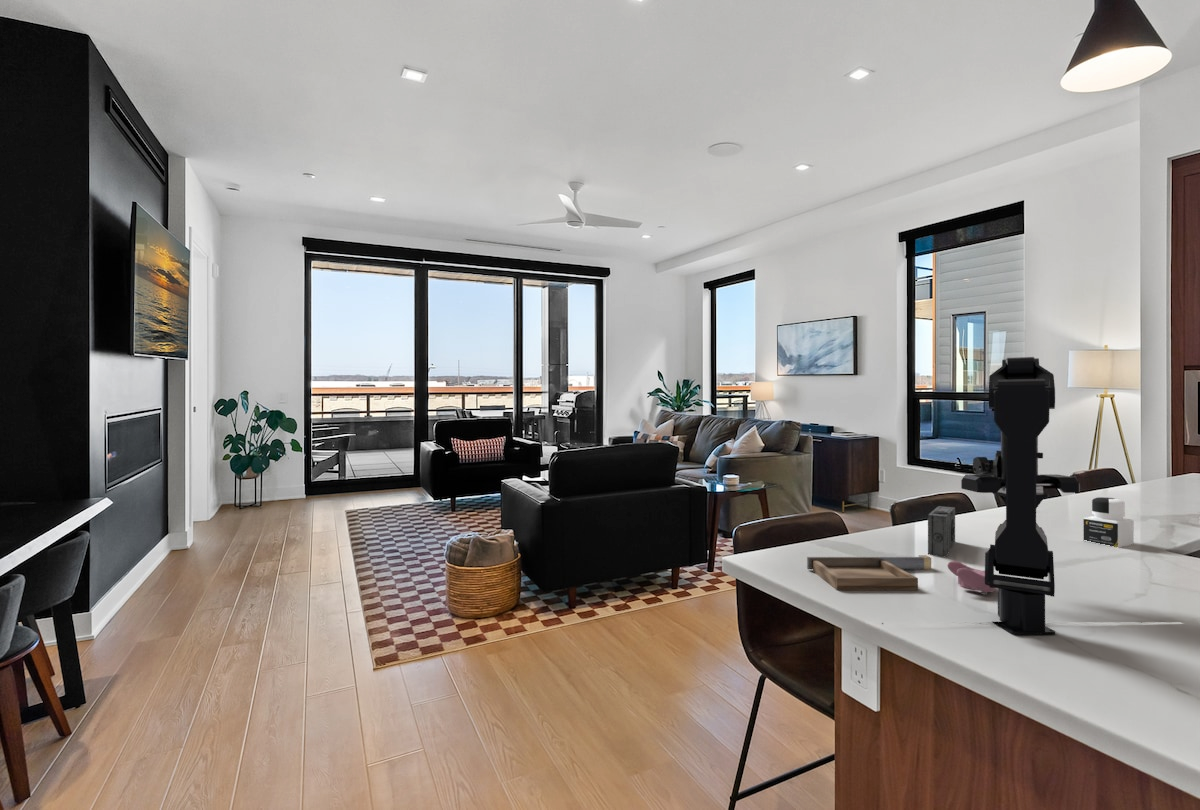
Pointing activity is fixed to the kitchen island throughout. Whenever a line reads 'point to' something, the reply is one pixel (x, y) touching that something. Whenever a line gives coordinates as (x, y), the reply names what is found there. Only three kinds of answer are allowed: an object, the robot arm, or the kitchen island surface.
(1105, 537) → the medicine bottle
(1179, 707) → the kitchen island surface
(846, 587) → the brown wooden tray
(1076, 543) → the kitchen island surface
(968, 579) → the video game controller
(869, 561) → the gray metal bar
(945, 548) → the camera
